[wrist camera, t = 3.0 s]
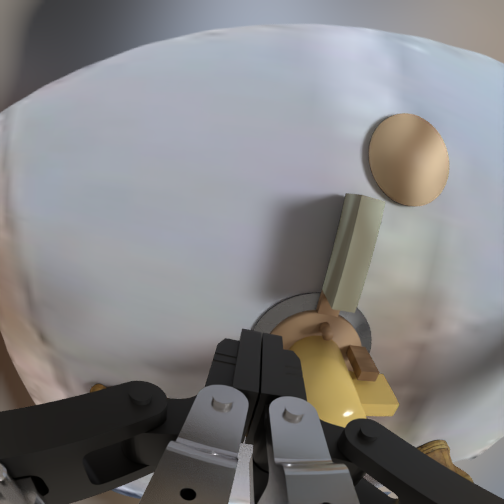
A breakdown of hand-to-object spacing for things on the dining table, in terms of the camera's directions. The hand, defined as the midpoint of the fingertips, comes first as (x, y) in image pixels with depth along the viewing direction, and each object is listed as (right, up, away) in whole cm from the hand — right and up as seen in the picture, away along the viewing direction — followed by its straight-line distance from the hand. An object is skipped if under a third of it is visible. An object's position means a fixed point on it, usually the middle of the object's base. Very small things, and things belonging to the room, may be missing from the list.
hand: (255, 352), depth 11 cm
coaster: (+15, +13, +13) cm, 24 cm away
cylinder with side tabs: (+7, -7, +16) cm, 19 cm away
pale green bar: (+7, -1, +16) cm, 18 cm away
